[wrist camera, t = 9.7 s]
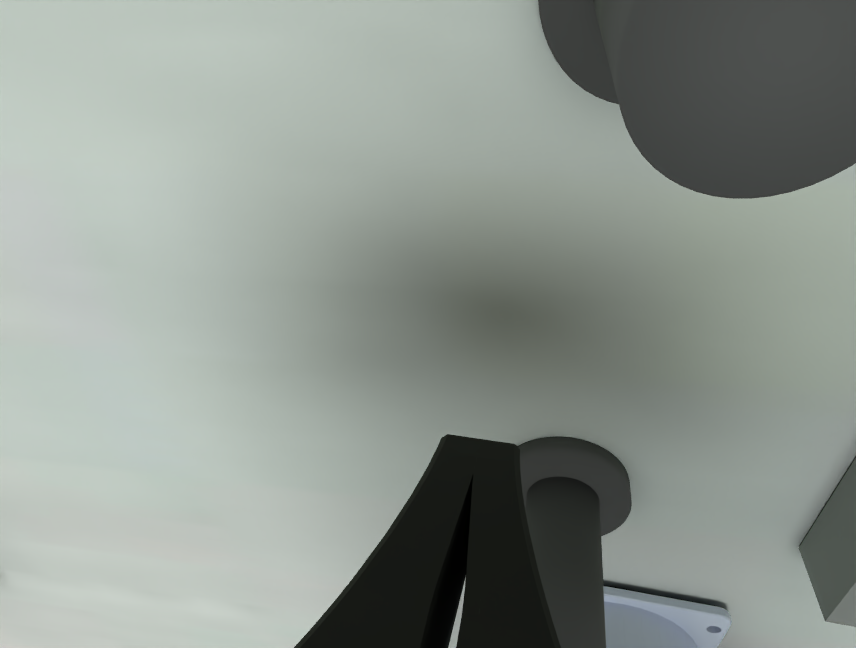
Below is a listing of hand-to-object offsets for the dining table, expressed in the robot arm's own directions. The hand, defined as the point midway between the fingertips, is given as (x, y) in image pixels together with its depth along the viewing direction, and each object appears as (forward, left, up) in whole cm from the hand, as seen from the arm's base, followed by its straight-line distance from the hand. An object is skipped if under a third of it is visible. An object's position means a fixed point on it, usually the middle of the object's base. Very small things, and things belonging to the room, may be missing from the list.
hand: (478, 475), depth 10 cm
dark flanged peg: (+7, -2, -6) cm, 10 cm away
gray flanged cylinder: (-8, -2, -6) cm, 10 cm away
